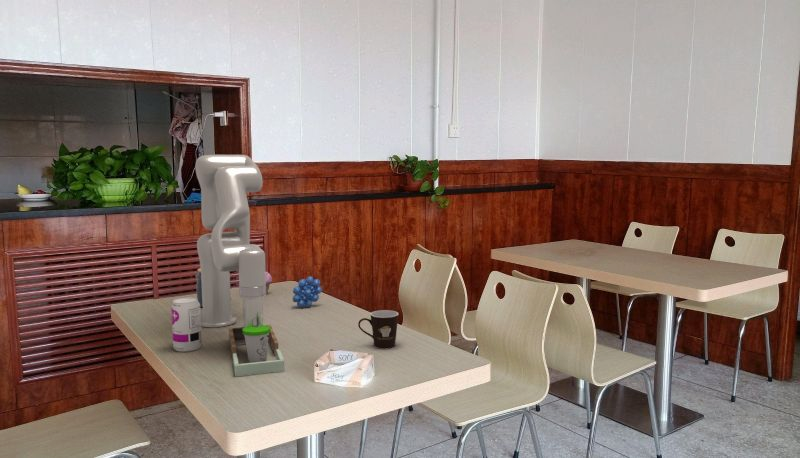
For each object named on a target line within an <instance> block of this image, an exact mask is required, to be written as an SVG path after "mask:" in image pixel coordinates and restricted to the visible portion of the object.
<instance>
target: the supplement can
mask: <svg viewBox="0 0 800 458" xmlns="http://www.w3.org/2000/svg"><path fill="white" fill-rule="evenodd" d="M170 307H171V308H170V310H171V311H170V312H171V327H172V328H171V329H172V331H171V332H172V348H173V349H174V350H175V351H177V352H180V353H181V352H182V353H183V352H184V353H185V352H186V353H187V352H193V351H197V350H198V349H200V347H202V345H203V342H202V341H203V340H202V326H201V315H200V309H201V307H200V303H199V302H198V299H197V297H192V296H191V297H189V296H187V297H180V298H175V299H173V301H172V303H171V306H170Z"/></svg>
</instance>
